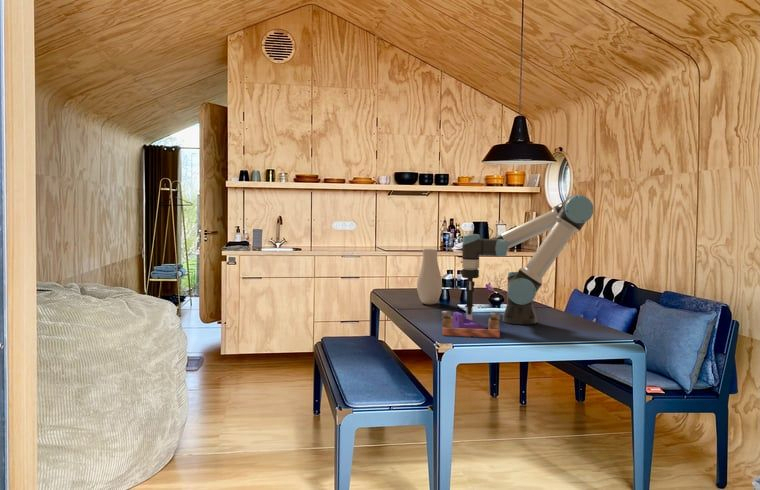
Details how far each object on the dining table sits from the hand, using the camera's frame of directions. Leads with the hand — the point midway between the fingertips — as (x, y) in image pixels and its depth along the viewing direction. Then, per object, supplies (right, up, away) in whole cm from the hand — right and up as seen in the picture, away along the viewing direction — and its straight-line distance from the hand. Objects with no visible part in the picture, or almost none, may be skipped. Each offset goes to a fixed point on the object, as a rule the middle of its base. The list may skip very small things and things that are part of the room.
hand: (469, 321), depth 274 cm
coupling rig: (-2, -3, -21) cm, 21 cm away
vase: (-13, +2, +61) cm, 62 cm away
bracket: (-1, -3, -7) cm, 8 cm away
